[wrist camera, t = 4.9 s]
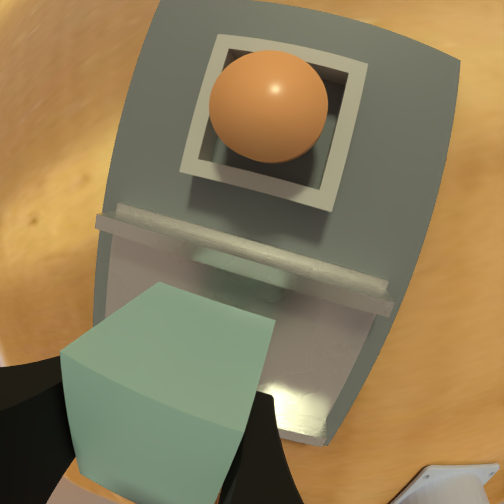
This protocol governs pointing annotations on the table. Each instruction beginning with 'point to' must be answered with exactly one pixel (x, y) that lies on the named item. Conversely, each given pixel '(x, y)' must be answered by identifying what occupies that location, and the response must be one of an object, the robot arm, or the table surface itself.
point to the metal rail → (257, 303)
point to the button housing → (200, 165)
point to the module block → (164, 394)
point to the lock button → (269, 106)
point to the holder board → (302, 168)
